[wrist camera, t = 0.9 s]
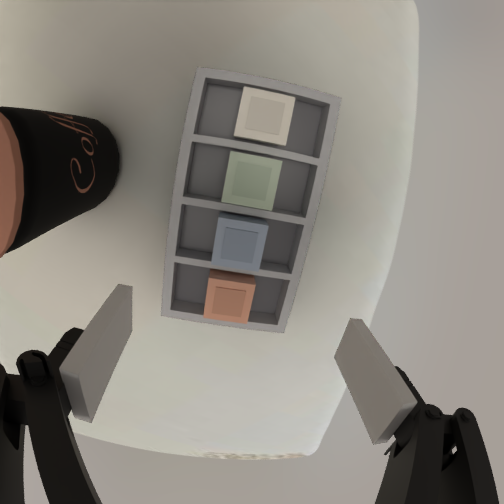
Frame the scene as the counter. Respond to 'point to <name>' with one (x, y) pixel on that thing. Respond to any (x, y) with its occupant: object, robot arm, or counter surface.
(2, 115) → the coffee jar
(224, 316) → the key terracotta
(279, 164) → the key sage
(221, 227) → the key slate
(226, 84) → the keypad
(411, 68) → the counter surface
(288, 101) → the key ivory
